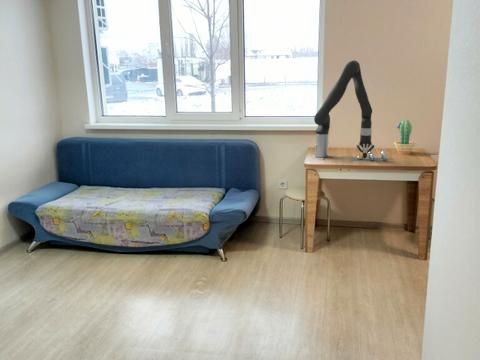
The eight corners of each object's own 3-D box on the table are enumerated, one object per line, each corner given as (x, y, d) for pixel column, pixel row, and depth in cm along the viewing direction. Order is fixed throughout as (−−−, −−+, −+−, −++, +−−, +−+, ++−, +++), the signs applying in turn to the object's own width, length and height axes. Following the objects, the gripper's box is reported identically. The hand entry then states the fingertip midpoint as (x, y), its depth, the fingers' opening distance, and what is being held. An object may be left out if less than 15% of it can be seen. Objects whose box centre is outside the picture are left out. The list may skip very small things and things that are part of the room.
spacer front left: (370, 161, 314) (370, 154, 312) (369, 160, 317) (369, 153, 315) (374, 161, 313) (374, 154, 312) (373, 160, 316) (374, 153, 315)
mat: (350, 161, 316) (350, 161, 316) (349, 157, 327) (349, 157, 327) (387, 161, 312) (387, 161, 312) (384, 158, 323) (384, 157, 323)
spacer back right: (381, 158, 320) (381, 151, 319) (380, 157, 323) (381, 151, 322) (385, 158, 320) (386, 151, 319) (385, 157, 323) (385, 151, 321)
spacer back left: (368, 158, 322) (369, 151, 320) (368, 157, 325) (368, 150, 323) (372, 158, 321) (373, 151, 320) (372, 157, 324) (372, 150, 323)
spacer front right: (383, 161, 312) (383, 154, 311) (382, 160, 315) (383, 153, 314) (387, 161, 312) (388, 154, 311) (387, 160, 315) (387, 153, 313)
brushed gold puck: (357, 159, 318) (357, 157, 318) (356, 158, 322) (356, 156, 322) (363, 159, 318) (363, 157, 317) (362, 158, 322) (362, 156, 321)
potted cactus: (406, 150, 347) (408, 118, 340) (419, 154, 332) (422, 121, 326) (389, 152, 343) (391, 119, 336) (401, 156, 328) (403, 122, 322)
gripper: (356, 135, 312) (355, 159, 317) (376, 135, 310) (375, 159, 315) (355, 133, 319) (354, 156, 324) (374, 133, 317) (373, 156, 322)
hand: (364, 157), depth 319 cm, fingers closed
